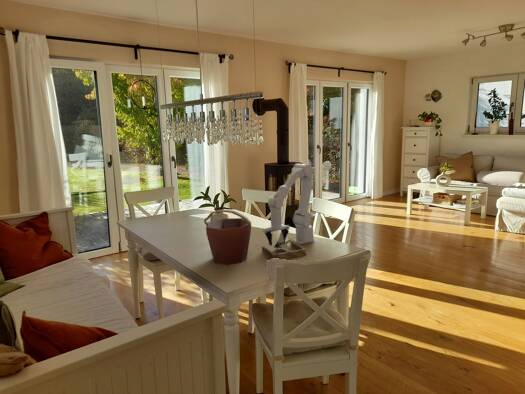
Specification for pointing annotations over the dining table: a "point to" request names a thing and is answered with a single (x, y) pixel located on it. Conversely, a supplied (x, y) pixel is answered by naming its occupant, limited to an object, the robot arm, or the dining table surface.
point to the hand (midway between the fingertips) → (277, 243)
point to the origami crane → (282, 243)
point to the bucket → (228, 238)
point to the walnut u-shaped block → (296, 252)
